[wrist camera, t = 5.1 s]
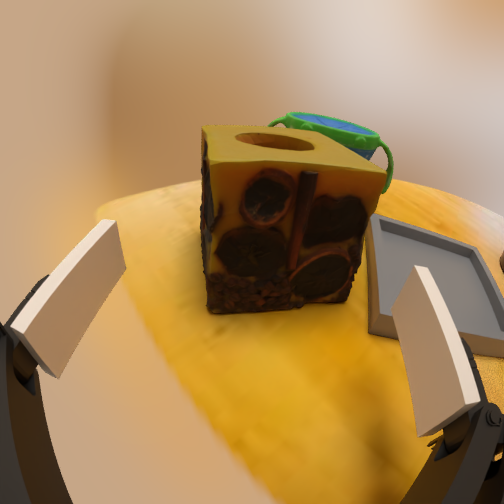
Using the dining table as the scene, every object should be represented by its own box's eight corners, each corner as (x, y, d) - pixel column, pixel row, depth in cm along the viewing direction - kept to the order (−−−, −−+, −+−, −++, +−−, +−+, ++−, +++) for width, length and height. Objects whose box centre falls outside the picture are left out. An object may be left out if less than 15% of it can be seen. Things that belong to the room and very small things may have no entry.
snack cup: (376, 203, 35) (395, 134, 29) (380, 242, 27) (410, 150, 21) (269, 175, 39) (277, 106, 33) (241, 203, 30) (249, 112, 24)
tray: (469, 260, 26) (476, 247, 25) (508, 358, 14) (521, 343, 13) (364, 227, 29) (369, 212, 28) (368, 333, 17) (380, 313, 16)
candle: (348, 304, 19) (395, 175, 13) (207, 319, 17) (206, 162, 11) (302, 229, 27) (322, 130, 21) (199, 232, 25) (200, 122, 19)
